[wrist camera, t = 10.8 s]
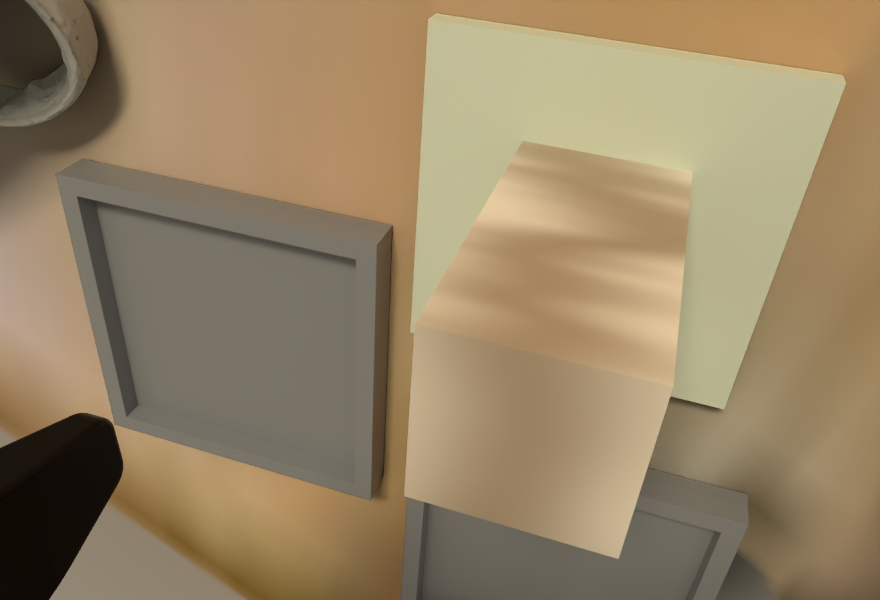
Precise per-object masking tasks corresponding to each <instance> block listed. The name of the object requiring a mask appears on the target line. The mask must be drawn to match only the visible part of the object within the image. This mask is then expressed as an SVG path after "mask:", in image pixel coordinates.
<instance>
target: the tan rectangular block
mask: <svg viewBox="0 0 880 600" xmlns="http://www.w3.org/2000/svg"><path fill="white" fill-rule="evenodd" d="M692 174H693V172H689V171H683V170H678V169H672V168H667V167H661V166H656V165H651V164H645V163H640V162H634V161H629V160H624V159H618V158H613V157H607V156H602V155H597V154H591V153H586V152H580V151H575V150H570V149H564V148H559V147H553V146H548V145H543V144H537V143H532V142H526V141H522V143H521V145H520V146H519V148H518V150H517V152H516V153H515V155H514V157H513V158H512V160H511V162H510V163H509V165H508V167H507V169H506V170H505V172H504V174H503V175H502V177H501V179H500V180H499V182H498V184H497V185H496V187H495V189H494V191H493V192H492V194H491V196H490V197H489V199H488V201H487V202H486V204H485V206H484V208H483V209H482V211H481V213H480V214H479V216H478V218H477V219H476V221H475V223H474V224H473V226H472V228H471V230H470V231H469V233H468V235H467V236H466V238H465V240H464V241H463V243H462V245H461V247H460V248H459V250H458V252H457V253H456V255H455V257H454V258H453V260H452V262H451V263H450V265H449V267H448V269H447V270H446V272H445V274H444V275H443V277H442V279H441V280H440V282H439V284H438V286H437V287H436V289H435V291H434V292H433V294H432V296H431V297H430V299H429V301H428V303H427V304H426V306H425V308H424V309H423V311H422V313H421V314H420V316H419V318H418V319H417V321H416V323H415V330H414V346H413V362H412V378H411V394H410V410H409V426H408V442H407V458H406V474H405V490H404V496H406V497H409V498H413V499H416V500H419V501H423V502H426V503H430V504H433V505H436V506H440V507H443V508H447V509H450V510H453V511H457V512H460V513H464V514H467V515H470V516H474V517H477V518H481V519H484V520H487V521H491V522H494V523H498V524H501V525H504V526H508V527H511V528H515V529H518V530H521V531H525V532H528V533H532V534H535V535H538V536H542V537H545V538H549V539H552V540H555V541H559V542H562V543H566V544H569V545H572V546H576V547H579V548H583V549H586V550H589V551H593V552H596V553H600V554H603V555H606V556H610V557H613V558H617V559H619V556H620V553H621V550H622V547H623V543H624V540H625V537H626V534H627V531H628V528H629V525H630V521H631V518H632V515H633V512H634V509H635V506H636V503H637V500H638V496H639V493H640V490H641V487H642V484H643V481H644V478H645V474H646V471H647V468H648V465H649V462H650V459H651V456H652V452H653V449H654V446H655V443H656V440H657V437H658V434H659V431H660V427H661V424H662V421H663V418H664V415H665V412H666V409H667V405H668V402H669V399H670V396H671V393H672V390H673V386H674V375H675V364H676V353H677V341H678V330H679V319H680V308H681V297H682V286H683V275H684V263H685V252H686V241H687V230H688V219H689V208H690V197H691V186H692Z"/></svg>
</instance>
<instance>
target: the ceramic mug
mask: <svg viewBox="0 0 880 600" xmlns="http://www.w3.org/2000/svg"><path fill="white" fill-rule="evenodd" d="M25 1H26V2H27V3H28V4H29V5H30V6H31V7H32V8H33V10H34V11H35V12H36V13H37V14H38V15H39V17H40V18H41V19H42V20H43V21H44V23H45V24H46V25H47V26H48V27H49V29H50V30H51V32H52V34H53V35H54V37H55V39H56V40H57V42H58V44H59V47H60V49H61V51H62V52H61V54H62V58H63V61H64V63H63V64H62V65H61V66H60V67H59V68H58V69H57V70H55V71H54V72H53V73H51V74H49V75H48V76H46V77H45V78H43V79H36V80H31V81H30V83H29V84H28V85H27V86H26V88H25V89H21V88H15V87H9V86H4V85H0V126H2V127H30V126H34V125H37V124H41V123H44V122H46V121H49V120H51V119H54V118H55V117H57V116H58V115H60V114H61V113H63V112H64V111H65V110H66V109H68V108H69V107H70V106H71V105H72V104H73V103H74V102H76V100H77V99H78V97H79V95H80V94H81V92H82V90H83V89H84V87H85V85H86V82H87V80H88V78H89V76H90V74H91V72H92V70H93V68H94V66H95V63H96V58H97V52H98V38H97V34H96V31H95V27H94V23H93V19H92V16H91V13H90V11H89V10H88V8H87V6H86V4H85V2H84V0H25Z"/></svg>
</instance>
